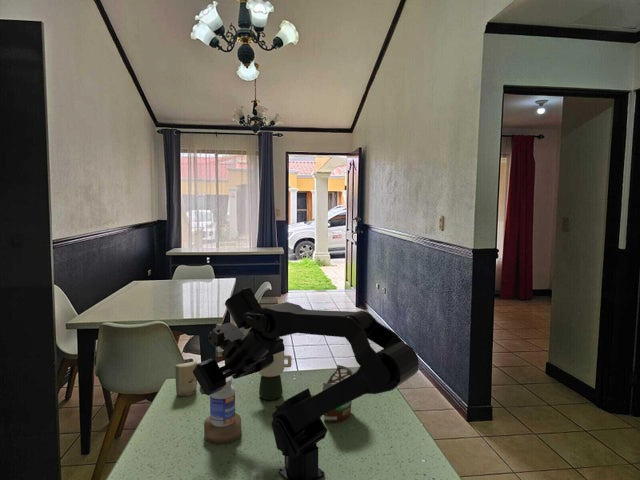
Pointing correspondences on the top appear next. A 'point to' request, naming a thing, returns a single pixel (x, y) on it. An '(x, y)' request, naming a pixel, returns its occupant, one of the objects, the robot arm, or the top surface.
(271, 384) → the character mug
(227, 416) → the pill bottle
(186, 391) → the beige rounded block
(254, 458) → the top surface
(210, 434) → the brown round smooth part
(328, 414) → the food container
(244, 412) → the top surface
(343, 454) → the top surface
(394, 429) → the top surface
